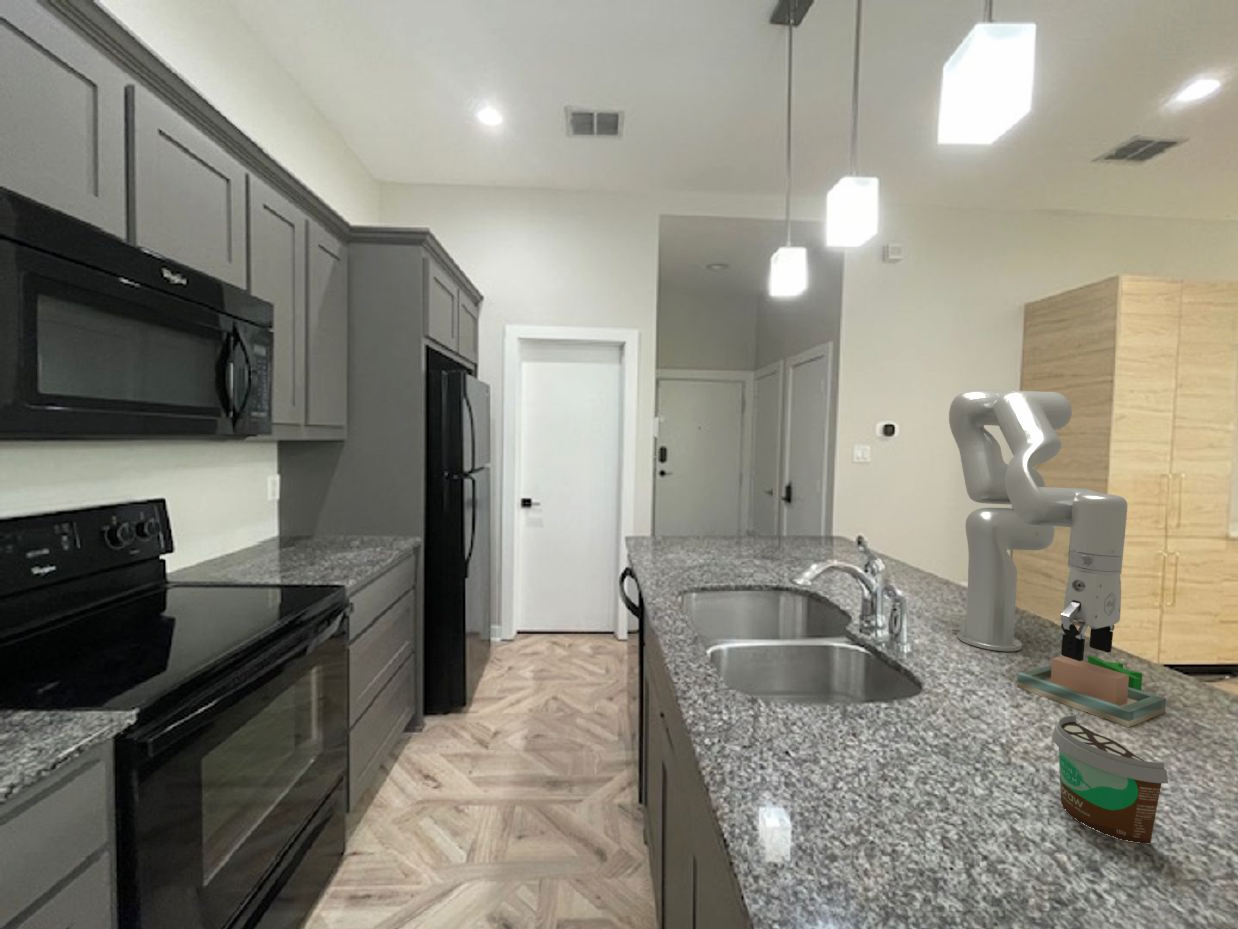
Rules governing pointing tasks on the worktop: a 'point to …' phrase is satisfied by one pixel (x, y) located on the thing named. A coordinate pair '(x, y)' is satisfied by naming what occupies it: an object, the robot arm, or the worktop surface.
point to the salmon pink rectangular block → (1090, 679)
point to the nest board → (1094, 699)
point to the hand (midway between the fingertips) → (1086, 654)
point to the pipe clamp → (1134, 676)
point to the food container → (1107, 783)
